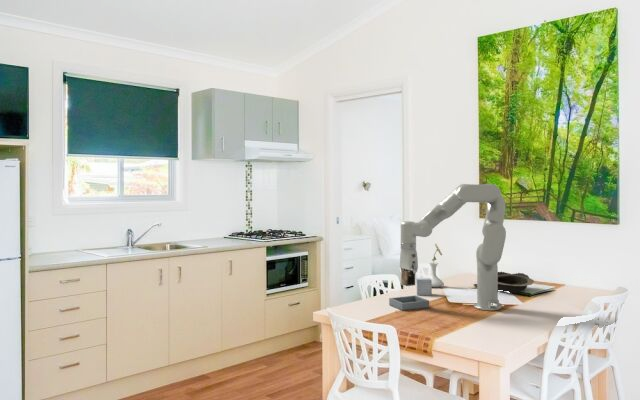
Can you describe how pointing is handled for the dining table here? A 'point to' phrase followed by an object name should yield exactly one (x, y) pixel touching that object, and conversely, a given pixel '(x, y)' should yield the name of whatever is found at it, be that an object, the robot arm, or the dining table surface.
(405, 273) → the walnut block
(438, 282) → the flower in vase
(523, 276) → the stone bowl
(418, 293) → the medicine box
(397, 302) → the tray
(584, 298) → the dining table surface
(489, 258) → the robot arm
